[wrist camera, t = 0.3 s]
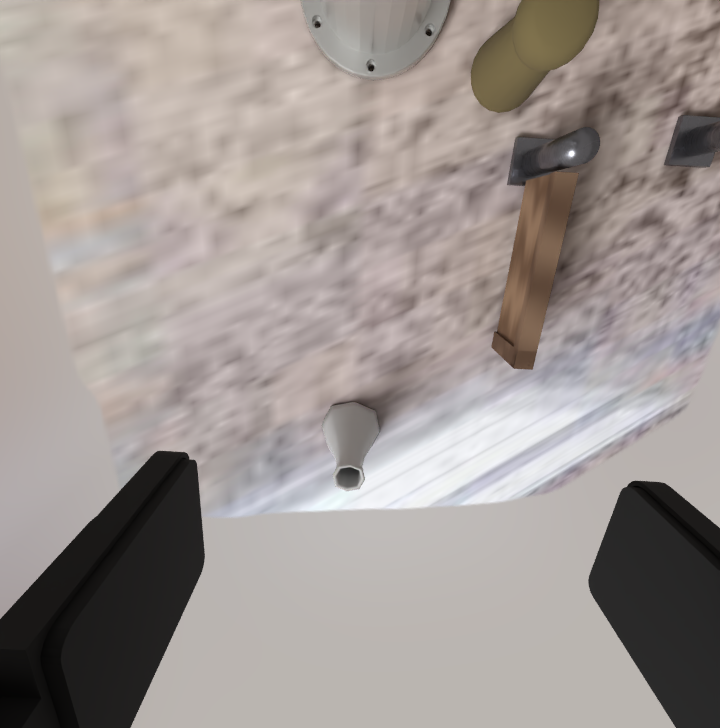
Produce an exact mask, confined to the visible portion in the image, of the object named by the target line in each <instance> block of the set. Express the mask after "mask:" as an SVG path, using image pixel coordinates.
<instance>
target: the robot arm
mask: <svg viewBox="0 0 720 728" xmlns="http://www.w3.org/2000/svg"><path fill="white" fill-rule="evenodd" d="M450 1H451V0H301V4H302V9H303V13H304V17H305V20H306V23H307V26H308V29H309V31H310V33H311V35H312V37H313V39H314V41H315V43H316V44H317V46H318V47H319V49H320V50H321V51H322V53H323V54H324V55H325V57H326V58H328V59H329V60H330V61H331V62H332V63H333V64H334V65H335V66H336V67H338V68H339V69H341V70H342V71H344V72H345V73H347V74H349V75H352V76H355V77H358V78H360V79H368V80H381V79H388V78H391V77H394V76H397V75H400V74H402V73H403V72H405V71H407V70H408V69H410V68H412V67H413V66H414V65H415V64H416V63H418V62H419V61H420V60H421V59H422V58H423V57H424V56H425V55H426V53H427V52H428V51H429V49H430V48H431V47H432V46H433V44H434V42H435V40H436V39H437V37H438V35H439V33H440V31H441V29H442V26H443V24H444V21H445V19H446V16H447V13H448V9H449V5H450ZM316 24H320V25H321V26H320V27H319V28H315V25H316ZM428 31H429V32H430V33H431V36H427V35H426V32H428ZM370 66H372V67H373V68H374V70H373V71H369V70H368V68H369V67H370ZM204 558H205V554H204V542H203V530H202V518H201V506H200V494H199V483H198V471H197V463H196V461H195V460H189V456H188V454H187V453H185V452H171V451H157V452H156V453H154V454H153V455H152V456H151V457H150V459H149V460H148V461H147V462H146V463H145V464H144V465H143V466H142V467H141V468H140V470H139V471H138V472H137V473H136V474H135V475H134V476H133V477H132V478H131V479H130V480H129V482H128V483H127V484H126V485H125V486H124V487H123V488H122V489H121V490H120V491H119V493H118V494H117V495H116V496H115V497H114V498H113V499H112V500H111V501H110V502H109V503H108V505H107V506H106V507H105V508H104V509H103V510H102V511H101V512H100V513H99V515H98V516H96V517H95V518H94V519H93V520H92V521H90V522H89V523H88V524H87V526H86V527H85V528H84V529H83V530H82V531H81V532H80V533H79V534H78V535H77V536H76V538H75V539H74V540H73V541H72V542H71V543H70V544H69V545H68V546H67V547H66V548H65V549H64V551H63V552H62V553H61V554H60V555H59V556H58V557H57V558H56V559H55V560H54V561H53V563H52V564H51V565H50V566H49V567H48V568H47V569H46V570H45V571H44V572H43V573H42V574H41V576H40V577H39V578H38V579H37V580H36V581H35V582H34V583H33V584H32V585H31V586H30V587H29V589H28V590H27V591H26V592H25V593H24V594H23V595H22V596H21V597H20V598H19V599H18V600H17V602H16V603H15V604H14V605H13V606H12V607H11V608H10V609H9V610H8V611H7V613H6V614H5V615H4V616H3V617H2V618H1V619H0V728H130V727H131V725H132V723H133V721H134V718H135V716H136V714H137V712H138V710H139V708H140V705H141V703H142V701H143V699H144V697H145V695H146V692H147V690H148V688H149V686H150V684H151V681H152V679H153V677H154V675H155V673H156V671H157V668H158V666H159V664H160V662H161V660H162V658H163V655H164V653H165V651H166V649H167V647H168V644H169V642H170V640H171V638H172V636H173V633H174V631H175V629H176V627H177V625H178V622H179V621H180V618H181V616H182V614H183V612H184V610H185V607H186V605H187V603H188V601H189V599H190V597H191V594H192V592H193V590H194V588H195V586H196V583H197V581H198V579H199V577H200V575H201V572H202V569H203V565H204ZM589 588H590V591H591V594H592V596H593V598H594V599H595V601H596V602H597V604H598V605H599V607H600V609H601V610H602V612H603V613H604V615H605V616H606V618H607V620H608V621H609V623H610V624H611V626H612V628H613V629H614V631H615V632H616V634H617V635H618V637H619V638H620V640H621V642H622V643H623V645H624V646H625V648H626V650H627V651H628V653H629V654H630V656H631V658H632V659H633V661H634V662H635V664H636V665H637V667H638V668H639V670H640V672H641V673H642V675H643V676H644V678H645V680H646V681H647V683H648V684H649V686H650V687H651V689H652V691H653V692H654V693H655V695H656V697H657V699H658V700H659V702H660V703H661V705H662V706H663V708H664V710H665V711H666V713H667V714H668V716H669V717H670V719H671V721H672V722H673V724H674V725H675V727H676V728H720V528H719V527H718V526H717V525H715V524H714V523H713V522H712V521H711V520H709V519H708V518H707V517H706V516H704V515H703V514H702V513H701V512H700V511H698V510H697V509H696V508H695V507H694V506H692V505H691V504H690V503H689V502H688V501H686V500H685V499H684V498H683V497H682V496H680V495H679V494H678V493H677V492H676V491H674V490H673V489H672V488H671V487H670V486H668V485H666V484H665V483H661V482H648V481H632V482H631V483H629V484H628V486H627V487H625V488H623V489H622V491H621V492H620V495H619V498H618V500H617V503H616V506H615V508H614V511H613V514H612V516H611V519H610V522H609V524H608V527H607V530H606V532H605V535H604V538H603V540H602V543H601V546H600V548H599V551H598V554H597V556H596V559H595V562H594V565H593V567H592V570H591V573H590V575H589Z"/></svg>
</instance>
